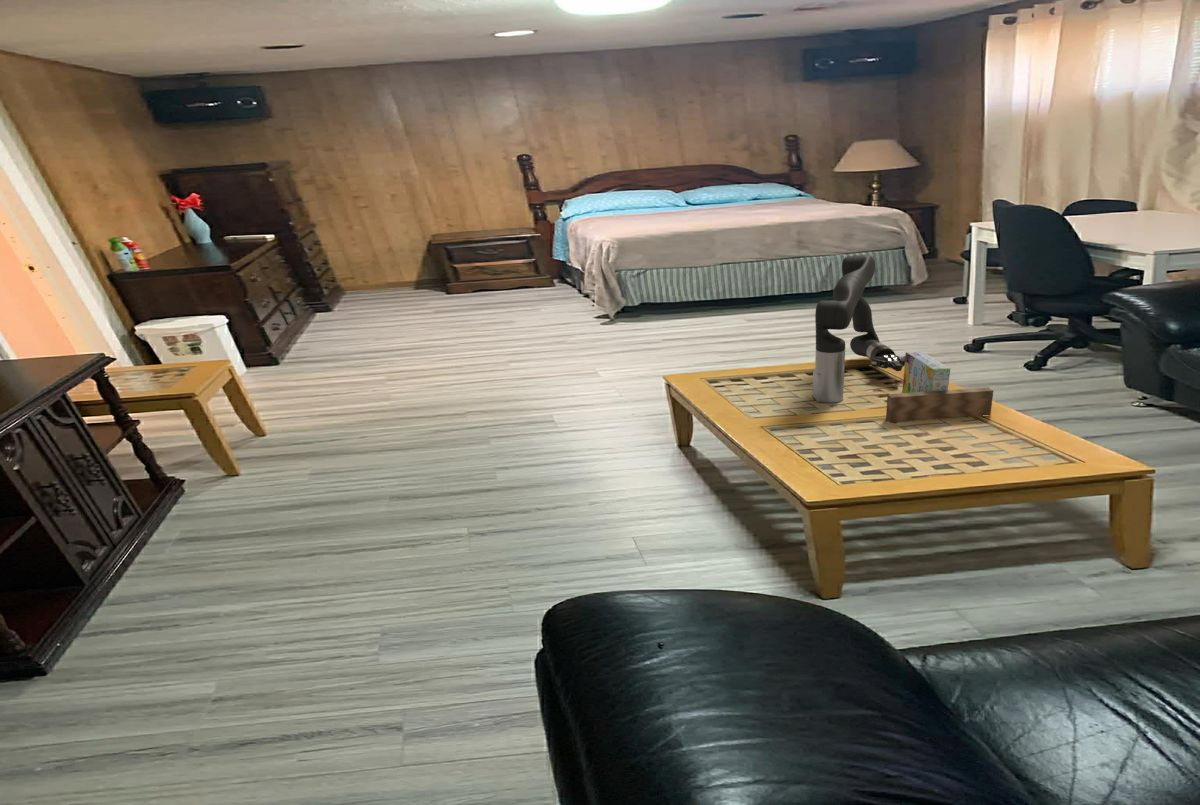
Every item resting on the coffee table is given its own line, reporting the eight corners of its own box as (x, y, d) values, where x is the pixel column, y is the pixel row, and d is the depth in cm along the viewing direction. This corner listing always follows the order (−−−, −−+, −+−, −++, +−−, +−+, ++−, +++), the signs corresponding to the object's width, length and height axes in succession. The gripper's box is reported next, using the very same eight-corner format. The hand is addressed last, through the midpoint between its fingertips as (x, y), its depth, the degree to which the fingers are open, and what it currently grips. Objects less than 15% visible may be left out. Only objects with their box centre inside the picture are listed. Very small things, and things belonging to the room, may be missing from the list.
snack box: (947, 415, 209) (951, 368, 204) (928, 416, 209) (932, 369, 204) (917, 393, 229) (921, 349, 224) (900, 394, 229) (903, 350, 224)
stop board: (889, 422, 207) (891, 397, 204) (885, 418, 210) (887, 394, 207) (990, 415, 206) (993, 390, 203) (985, 412, 209) (988, 387, 206)
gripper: (862, 346, 250) (880, 359, 234) (899, 343, 249) (919, 356, 233) (861, 365, 252) (879, 380, 236) (898, 363, 252) (917, 377, 235)
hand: (899, 368), depth 235 cm, fingers closed
